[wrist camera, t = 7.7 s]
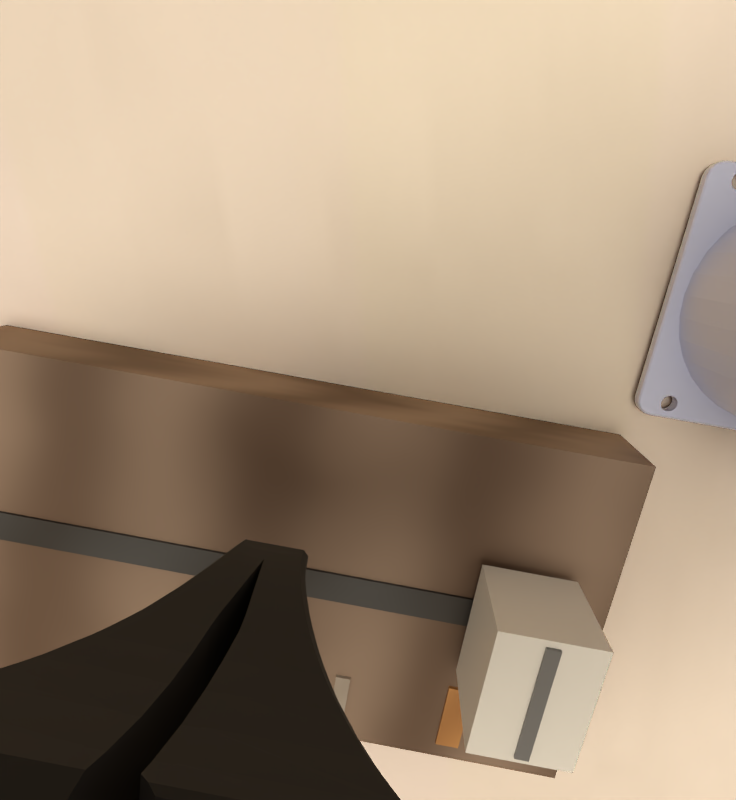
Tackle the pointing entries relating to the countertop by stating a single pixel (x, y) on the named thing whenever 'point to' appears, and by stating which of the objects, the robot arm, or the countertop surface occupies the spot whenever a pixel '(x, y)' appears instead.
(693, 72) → the countertop surface
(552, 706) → the fader tab
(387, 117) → the countertop surface
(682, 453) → the countertop surface
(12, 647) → the fader console
